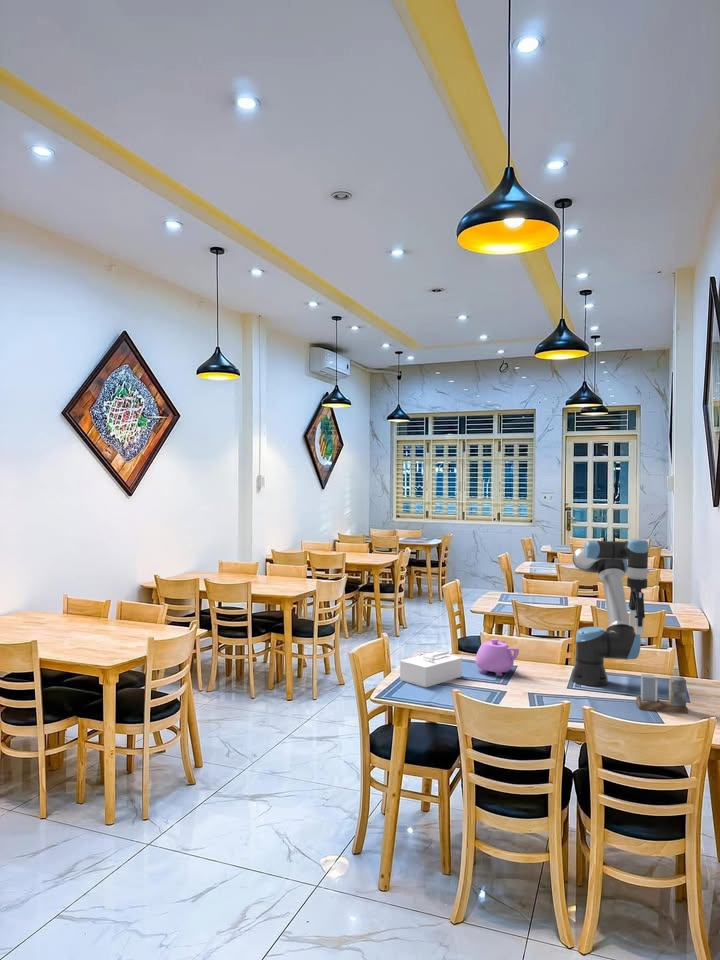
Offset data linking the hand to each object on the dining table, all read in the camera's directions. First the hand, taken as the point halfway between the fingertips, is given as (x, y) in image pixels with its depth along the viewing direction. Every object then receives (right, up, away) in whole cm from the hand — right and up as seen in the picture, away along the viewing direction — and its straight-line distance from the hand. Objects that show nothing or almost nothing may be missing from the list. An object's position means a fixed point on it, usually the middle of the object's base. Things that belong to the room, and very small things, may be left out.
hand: (636, 630), depth 262 cm
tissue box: (-80, -27, +24) cm, 88 cm away
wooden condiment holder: (+5, -28, -12) cm, 30 cm away
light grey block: (0, -25, -10) cm, 28 cm away
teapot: (-48, -28, +36) cm, 66 cm away
